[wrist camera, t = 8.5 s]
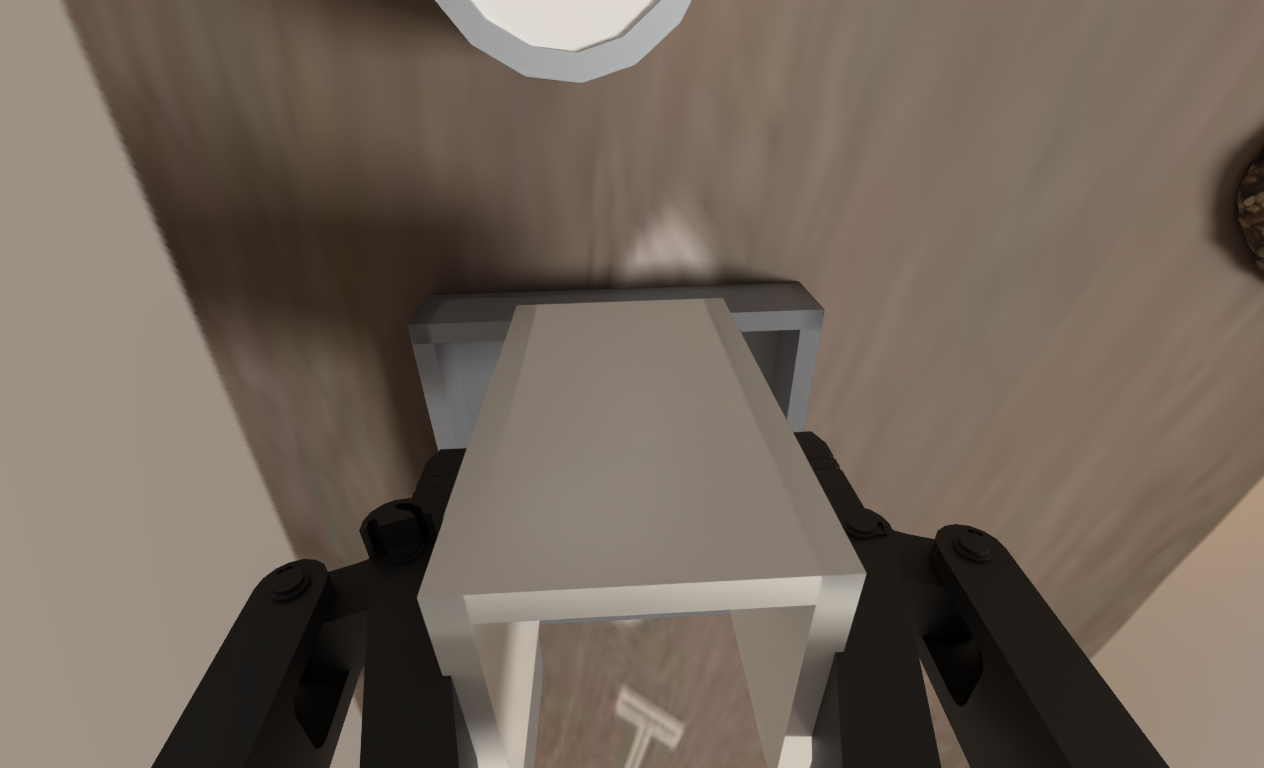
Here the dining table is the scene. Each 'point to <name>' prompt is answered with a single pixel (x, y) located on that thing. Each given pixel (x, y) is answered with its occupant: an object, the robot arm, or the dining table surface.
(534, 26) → the shot glass
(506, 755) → the white u-shaped stool
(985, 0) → the dining table surface
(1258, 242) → the bread roll
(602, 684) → the dining table surface
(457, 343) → the tray
